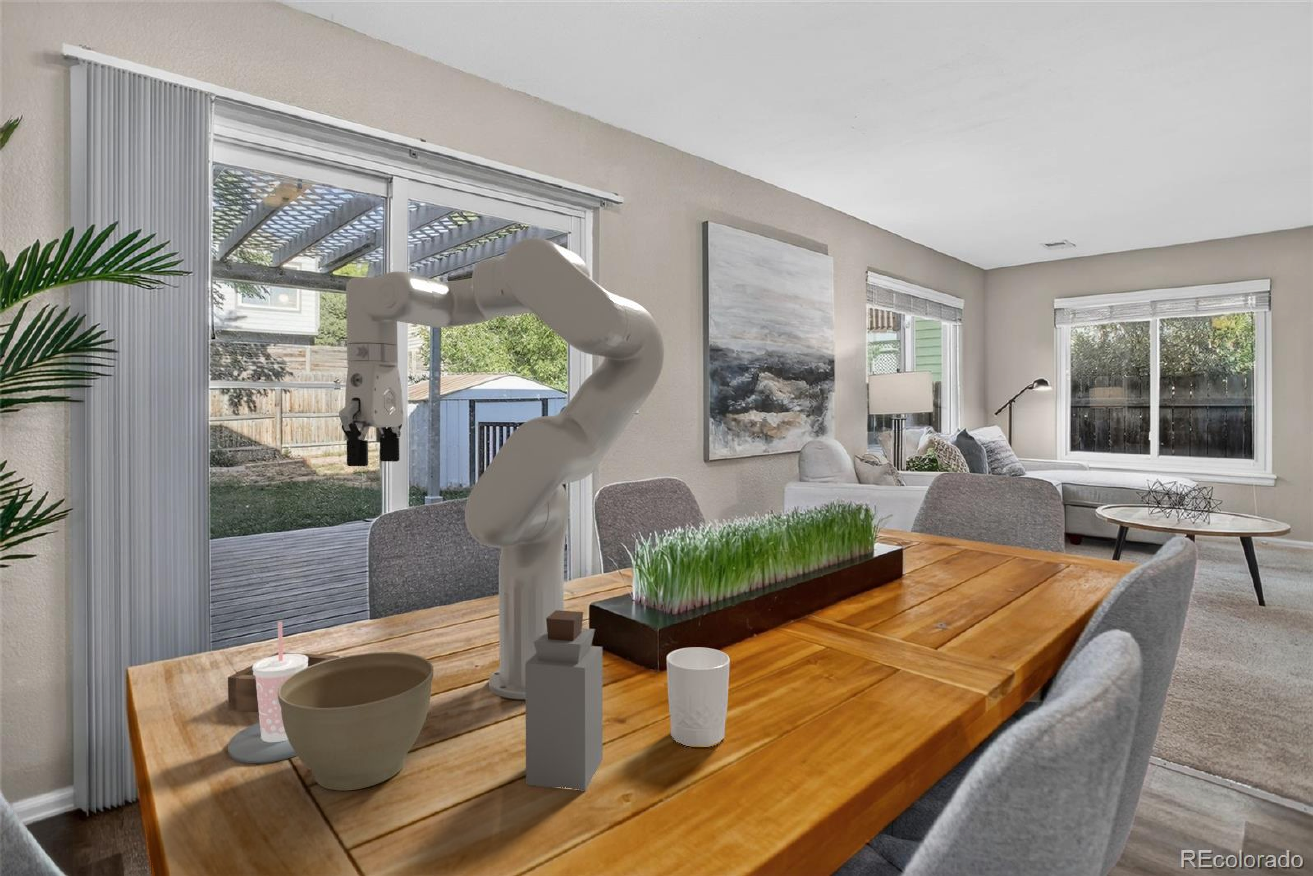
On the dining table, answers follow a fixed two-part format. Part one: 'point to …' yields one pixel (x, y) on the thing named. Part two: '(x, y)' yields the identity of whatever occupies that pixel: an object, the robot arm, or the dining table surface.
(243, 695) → the square wooden frame
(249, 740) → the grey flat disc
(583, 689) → the perfume bottle
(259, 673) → the beverage cup
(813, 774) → the dining table surface
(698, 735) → the white cup
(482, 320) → the robot arm
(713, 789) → the dining table surface
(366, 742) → the planter bowl
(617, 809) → the dining table surface
